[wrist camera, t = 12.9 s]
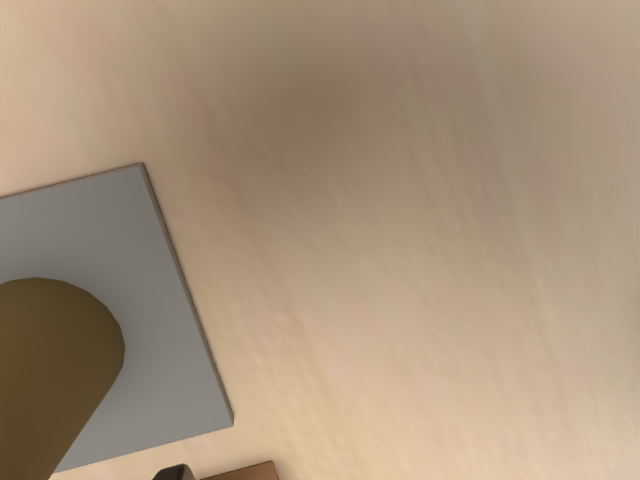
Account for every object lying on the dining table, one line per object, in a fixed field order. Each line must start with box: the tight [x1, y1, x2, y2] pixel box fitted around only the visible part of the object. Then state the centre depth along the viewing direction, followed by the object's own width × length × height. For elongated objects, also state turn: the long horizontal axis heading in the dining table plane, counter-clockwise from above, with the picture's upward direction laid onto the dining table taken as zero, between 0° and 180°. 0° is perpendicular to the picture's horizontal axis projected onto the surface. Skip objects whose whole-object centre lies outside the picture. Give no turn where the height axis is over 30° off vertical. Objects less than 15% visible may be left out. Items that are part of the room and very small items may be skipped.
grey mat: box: [0, 163, 234, 474], centre depth 21 cm, size 12×12×1 cm
